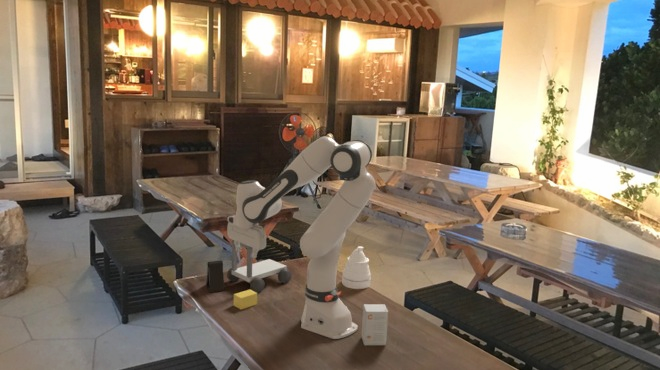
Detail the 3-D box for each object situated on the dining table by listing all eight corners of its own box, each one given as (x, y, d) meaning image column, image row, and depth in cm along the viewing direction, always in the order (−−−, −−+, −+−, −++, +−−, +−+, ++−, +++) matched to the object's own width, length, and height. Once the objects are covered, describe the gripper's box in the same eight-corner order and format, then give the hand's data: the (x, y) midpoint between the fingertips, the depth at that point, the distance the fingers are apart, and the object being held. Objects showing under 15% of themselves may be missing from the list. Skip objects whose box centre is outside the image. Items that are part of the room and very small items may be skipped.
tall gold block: (257, 304, 219) (257, 293, 218) (240, 310, 214) (241, 298, 213) (249, 300, 223) (249, 289, 222) (233, 305, 217) (233, 294, 216)
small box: (382, 337, 197) (385, 303, 195) (386, 345, 191) (388, 311, 189) (360, 337, 197) (363, 303, 194) (363, 345, 190) (366, 311, 188)
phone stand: (224, 291, 231) (224, 264, 228) (210, 292, 228) (210, 265, 226) (219, 283, 239) (219, 257, 236) (205, 284, 236) (205, 258, 234)
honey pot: (375, 287, 243) (378, 249, 240) (350, 290, 238) (352, 251, 234) (361, 276, 255) (364, 240, 251) (337, 280, 249) (339, 242, 246)
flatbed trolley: (264, 270, 257) (265, 228, 252) (291, 281, 245) (292, 237, 240) (226, 281, 241) (227, 237, 236) (253, 294, 229) (254, 247, 224)
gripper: (270, 225, 207) (269, 259, 209) (237, 214, 220) (236, 246, 223) (258, 228, 202) (256, 263, 205) (224, 216, 215) (224, 249, 218)
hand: (246, 254), depth 214 cm, fingers open, 8 cm apart
